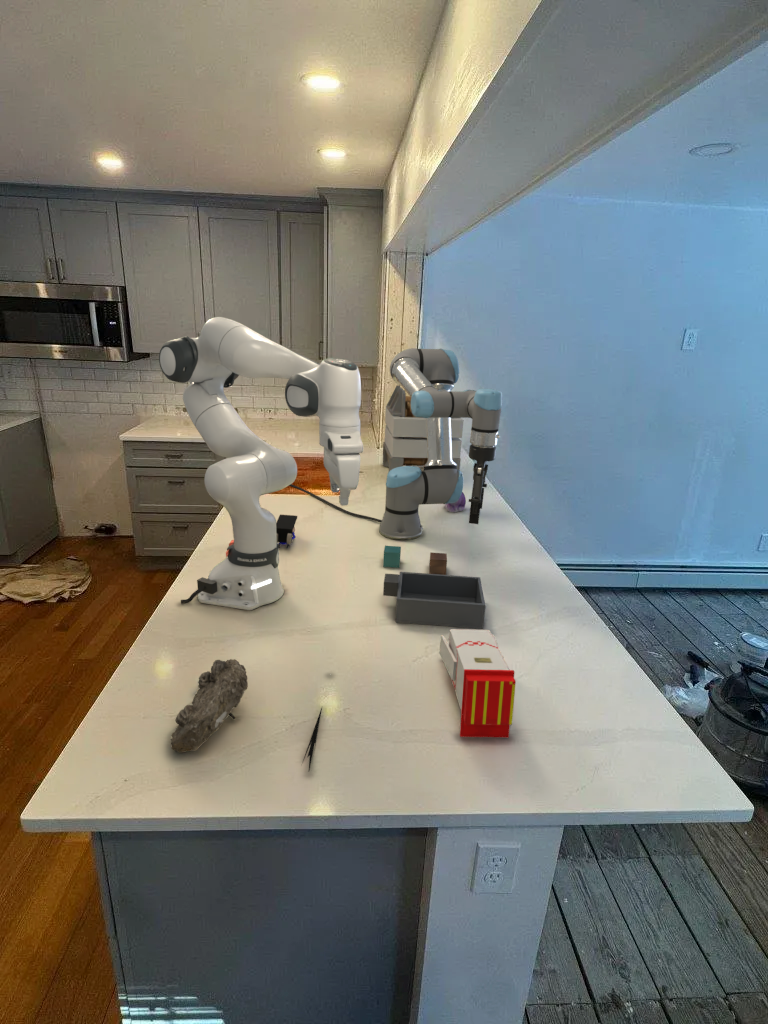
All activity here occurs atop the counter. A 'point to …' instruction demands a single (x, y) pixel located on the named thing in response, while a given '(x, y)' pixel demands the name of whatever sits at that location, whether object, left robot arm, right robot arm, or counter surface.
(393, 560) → the teal cube
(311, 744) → the feather
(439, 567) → the walnut cube
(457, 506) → the figurine
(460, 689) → the toy
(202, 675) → the fossil
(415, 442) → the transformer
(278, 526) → the figurine character
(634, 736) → the counter surface
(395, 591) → the bin
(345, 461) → the left robot arm
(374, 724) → the counter surface
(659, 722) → the counter surface
